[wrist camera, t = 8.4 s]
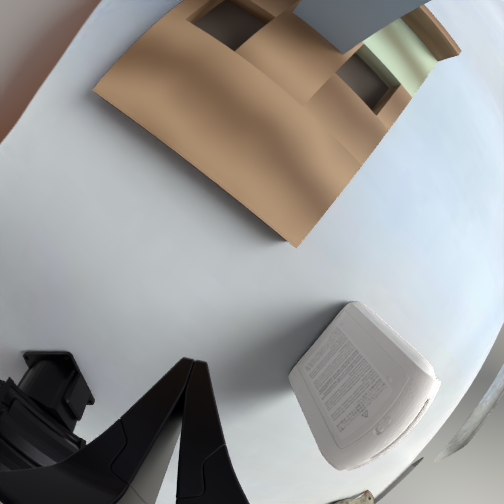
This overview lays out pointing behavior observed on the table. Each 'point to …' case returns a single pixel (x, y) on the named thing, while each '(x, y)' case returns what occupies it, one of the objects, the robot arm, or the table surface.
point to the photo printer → (361, 387)
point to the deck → (272, 99)
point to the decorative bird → (359, 499)
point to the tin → (352, 18)
